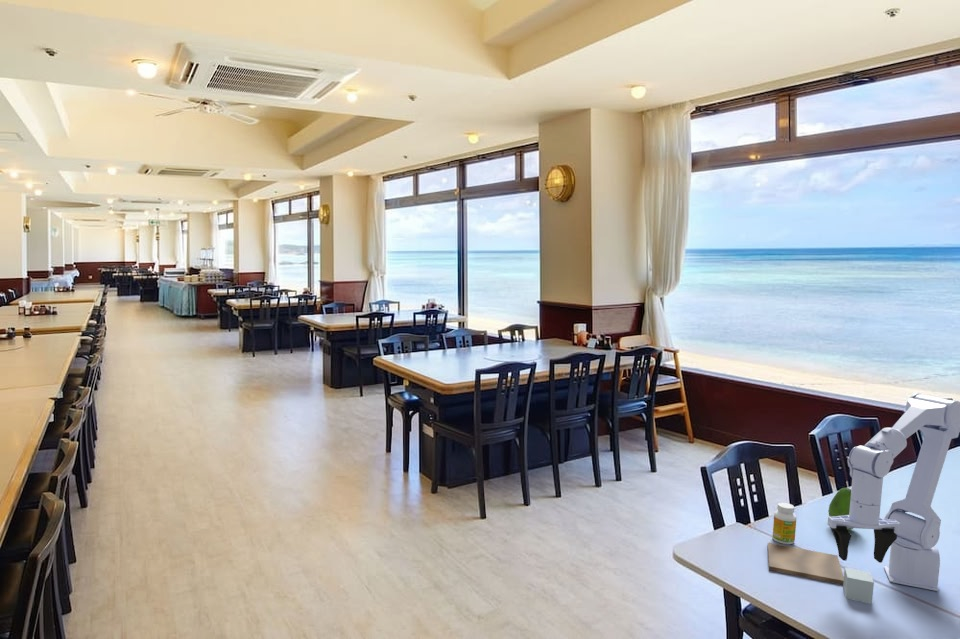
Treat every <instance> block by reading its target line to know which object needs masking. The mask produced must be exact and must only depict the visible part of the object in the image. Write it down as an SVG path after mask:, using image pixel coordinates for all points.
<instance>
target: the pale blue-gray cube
mask: <svg viewBox="0 0 960 639" xmlns="http://www.w3.org/2000/svg"><path fill="white" fill-rule="evenodd" d="M843 571H844V572H843V576H844V582H843V585H842V590H843V593H844V596H845V599H846V600H853V601H856V602H861V603H866V604H869V605H871V604H873V598H874V587H875V586H874V584H875V581H874V579H873V577H872V574H871V572H870V571H866V570H860V569H856V568H855V569H854V568H849V567H844V570H843Z"/></svg>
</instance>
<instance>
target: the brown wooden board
mask: <svg viewBox="0 0 960 639" xmlns="http://www.w3.org/2000/svg"><path fill="white" fill-rule="evenodd" d="M767 559H768V571H771V572H777V573H782V574H787V575H792V576H797V577H802V578H807V579H813V580H817V581H822V582H827V583H833V584H837V585H842V586H843V582H844V572H843V570H842V566H841V563H840V559H839V555H838V554H837V555H836V554H832V553H826V552H821V551H820V552H819V551H815V550H811V549H810V550H809V549H804V548H801V547H793V546H787V545H784V544H778V543H777V544H776V543H773V542H772V543H771V542H767Z"/></svg>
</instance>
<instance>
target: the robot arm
mask: <svg viewBox="0 0 960 639" xmlns="http://www.w3.org/2000/svg"><path fill="white" fill-rule="evenodd" d="M917 431H921V432H922V434H923V440H922V444H921V447H920V450H919V453H918V455H917V460H916V463H915V466H914V468H913V469H914V470H913V471H912V472H913V473H912V475H911V479H910V482H909V485H908V487H907V488H908V489H907V492H906V495H905V498H903V499H900V500H896V501H893V502H892V503H891V506H890V507H889V510H888V511H887V512H886V514H885V516H884V518H883V517H880V515H881V505H882V494H883V493H882V492H883V482H884V477H885V476H887V475H888V474H889V473H890V472H889V471H890V470H891V467H892V465H893V463H894V462H895V461H894V459H895V458H896V457H897V456H898V455H899V454H901V452H902V451H903V450H904V449H906V448H907V445H908V442H907V439H908V438H909V437H912V435H913V434H915V433H916V432H917ZM959 435H960V401H959V400H952V399H946V398H942V397H935V396H931V395H925V394H921V393H918V392H916V393H913V394H912V395H910V397H909V398H908V399H907V400H906V405H905V412H904V413H903V414H902V415H901V417H900V418H899V419H898V420H897V421H896V422H895V423H894V424H893V425H892V426H891V427H883V428H882V429H881V430H880V431H878V432H877V433H876V434H875V435H874V436H873V437H871V439H869V441H867V442H866V443H865V444H863V445H858V446H854V447H852V449H850V452H849V454H848V457H847V466H848V468H849V476H850V477H851V488H850V489H851V500H850V511H849V515H844V516H834V517H830V516H829V515H828V516H827V526H828V527H829V528H830V530H831V532H832V534H833V537H834V539H835V543H836V547H837V553H838V558H840V559H841V560H842V561H847V560H848V556H849V555H848V554H849V553H848V552H849V545H850V541H851V539H852V537H853V535H852V534H851V533H850V532H849V530H847V528H853V529H861V530H863V529H865V530H873V535H874V545H873V548H874V549H873V558H874V560H875V561H876V562H878V563H880V564H881V563H883V561H884V558H885V557H886V554H887V552H888V551H889V548H890V552H889V560H888V562H889V563H888V565H884V566H883V569H884V572H885V573H886V576H887V578H888V580H889V582H890V583H894V584H899V585H904V586H909V587H915V588H918V589H919V588H920V589H925V590H928V591H929V590H931V591H935V592H938V591H939V587H938V586H939V579H940V578H939V575H940V567H941V558H940V552H939V549H938V547H937V546H936V545H937V544H938V542H939V539H940V533H941V532H940V527H941V522H942V519H941V518H940V516H939V515H938V514H937V512H935V510H934V509H933V508H932V502H933V500H934V496H935V493H936V489H937V487H938V484H939V480H940V477H941V475H942V474H941V473H942V471H943V470H942V469H944V468H943V467H944V465H945V461H946V458H947V454H948V451H949V448H950V444H951V442H952V439H957V438H959ZM910 513H912V514H910ZM913 514H914V515H913ZM915 515H917V516H915ZM918 516H920V517H918ZM921 517H922V518H921Z"/></svg>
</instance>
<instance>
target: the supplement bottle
mask: <svg viewBox="0 0 960 639" xmlns="http://www.w3.org/2000/svg"><path fill="white" fill-rule="evenodd" d="M776 509H777V510H775V511H774V515H773V525H772V526H773V527H772V528H773V529H772V540H774V541H775V542H777V543H779V544H781V545H791V544H792V545H793V544H795V541H796V531H797V530H796V528H797V515H796V514H795V513H794V512H795V506H794V505H793V504H791V503H786V502H778V504H777V508H776Z"/></svg>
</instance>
